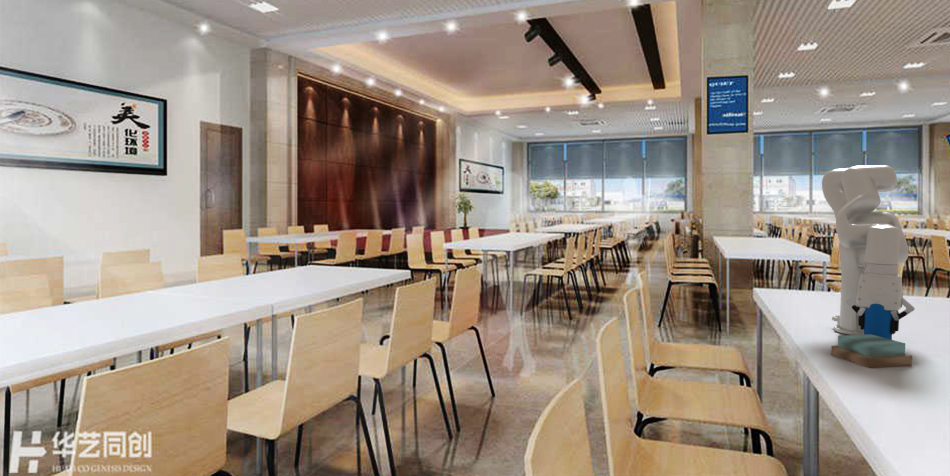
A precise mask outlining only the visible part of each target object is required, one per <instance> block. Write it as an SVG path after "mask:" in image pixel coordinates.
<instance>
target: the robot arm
mask: <svg viewBox="0 0 950 476" xmlns="http://www.w3.org/2000/svg"><path fill="white" fill-rule="evenodd" d="M897 182H898V178H897V173H896V171H895V169H894V168H893V167H891V166H890V165H885V164H883V165H882V164H879V165H878V164H876V165H855V166H850V167H846V168H835V169H832V170H828V171H826V172H825V174H824V175H823V177H822V180H821V189H822V194H823V197H824V199H825V201H826V203H827V204H828V206H829V207H830V208H831V210H832V211H833V214H834V217H835V218H834V219H835V229H836V234H837V238H838V241H839V244H838V253H839V259H840V260H839V261H840V270H841V272H840V273H841V275H840V276H841V279H840V307H839V308H840V309H839V310H840V311H839V314H835V316H832V318H831V320H832V321H834V322H837V323H836V325H834V326H833V330H834V332H837V333H840V334H844V335H864V318H865V308H870V305H871V304H881V305H883V306H884V310H886V311H891V314H892V316H893V320H891V334H892V335H895V334H896V333H897V332H899V328H900V327H899V326H900V320H901V319H902V318H905V317H906V316H907V315H909V314H910V313H912V312H914V311H915V310H916V309H915V307H914V306H913V305H912V304H911V303H910V302H909V301H907V299H905V298H904V297H903V296H904V294H903V293H904V292H903V290H904V289H903V282H902V281H903V280H902V276H901V274H899V265H902V264H904V263H905V262H906V261H907V260H908V258H909V255H910V253H909V252H910V251H909V245H908V242H907V239H906V236H905V234H904V231H903V228H902V226H901V224H900V221H899V219H898V218H897V216H896V215H895V214H893V213H891V212H889V211H875V210H876V209H878V207H880V205H881V196H880V194H879V193H886V192H890V191H892V190H894V189H895V187H896V185H897ZM875 301H877V302H875ZM903 306H904V308H906V309H904V310H903V311H901V312H899V310H901V308H903Z"/></svg>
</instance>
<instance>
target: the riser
mask: <svg viewBox="0 0 950 476" xmlns="http://www.w3.org/2000/svg"><path fill="white" fill-rule="evenodd" d="M830 350H831V353H830V355H831V356H833V357H836V358H839V359H842V360H846V361H847V362H852V363H854V364H857V365H860V366H864V367H867V368H869V369H876V368H890V367H891V368H893V367H907V366H908V367H909V366H912V365H913V355H910V354H907V353H906V343H905V342H902V341H897V340H893V339H892V340H891V339H887V338H883V337H879V336H875V335H872V334H864V335H848V334H844V335H838V336H837V345H831V349H830Z"/></svg>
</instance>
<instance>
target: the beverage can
mask: <svg viewBox="0 0 950 476" xmlns="http://www.w3.org/2000/svg"><path fill="white" fill-rule="evenodd" d="M875 302H877V301H875ZM891 320H893V316H892V314H891V311H886V310H884V306H883V305H881V304H871V305H870V308H865V318H864V334H872V335H875V336H879V337H883V338H887V339H891V340H893V334H891Z"/></svg>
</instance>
